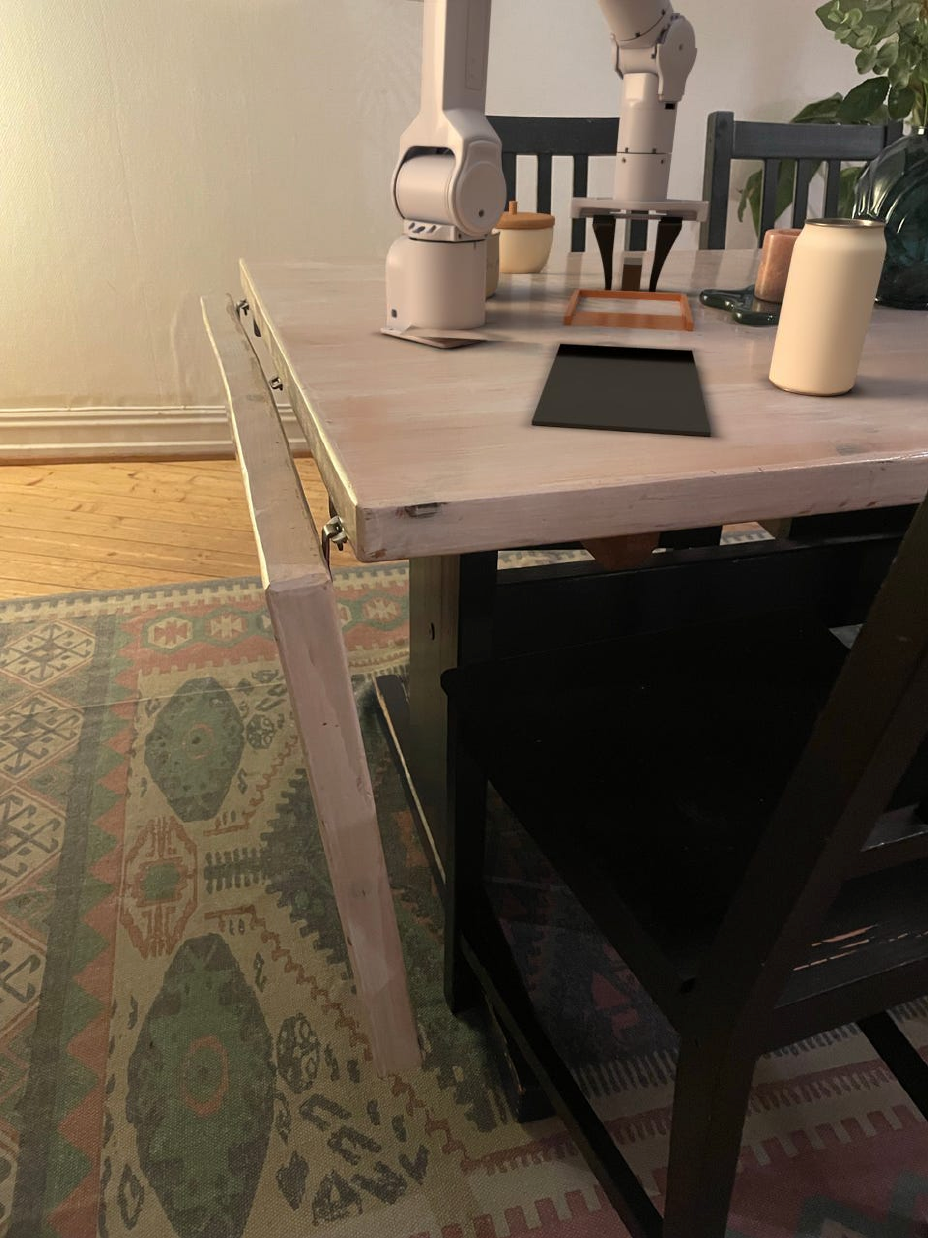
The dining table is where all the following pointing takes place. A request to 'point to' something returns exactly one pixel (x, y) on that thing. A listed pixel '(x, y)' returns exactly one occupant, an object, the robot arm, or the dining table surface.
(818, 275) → the can
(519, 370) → the dining table surface
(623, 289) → the dustpan
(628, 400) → the mat
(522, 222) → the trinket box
